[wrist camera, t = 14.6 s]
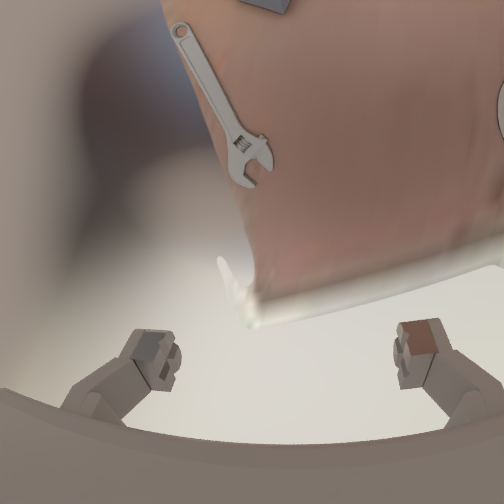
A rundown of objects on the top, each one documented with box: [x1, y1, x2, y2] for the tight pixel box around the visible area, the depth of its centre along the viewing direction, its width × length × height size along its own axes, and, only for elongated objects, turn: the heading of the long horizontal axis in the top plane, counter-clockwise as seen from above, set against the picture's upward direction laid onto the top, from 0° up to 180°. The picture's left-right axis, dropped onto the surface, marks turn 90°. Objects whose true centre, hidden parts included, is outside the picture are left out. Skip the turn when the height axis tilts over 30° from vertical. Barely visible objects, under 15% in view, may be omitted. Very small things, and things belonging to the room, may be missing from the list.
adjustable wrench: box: [171, 22, 274, 188], centre depth 38 cm, size 25×6×2 cm, turn 22°
